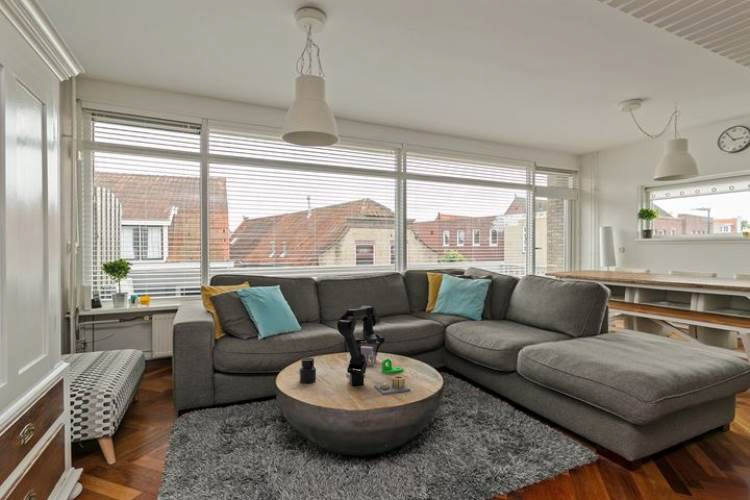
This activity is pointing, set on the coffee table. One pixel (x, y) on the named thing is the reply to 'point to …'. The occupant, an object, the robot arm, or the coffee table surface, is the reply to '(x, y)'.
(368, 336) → the robot arm
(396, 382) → the gear
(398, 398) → the coffee table surface
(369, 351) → the toy sheep
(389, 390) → the carrier board
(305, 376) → the ink bottle
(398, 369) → the mechanical part
